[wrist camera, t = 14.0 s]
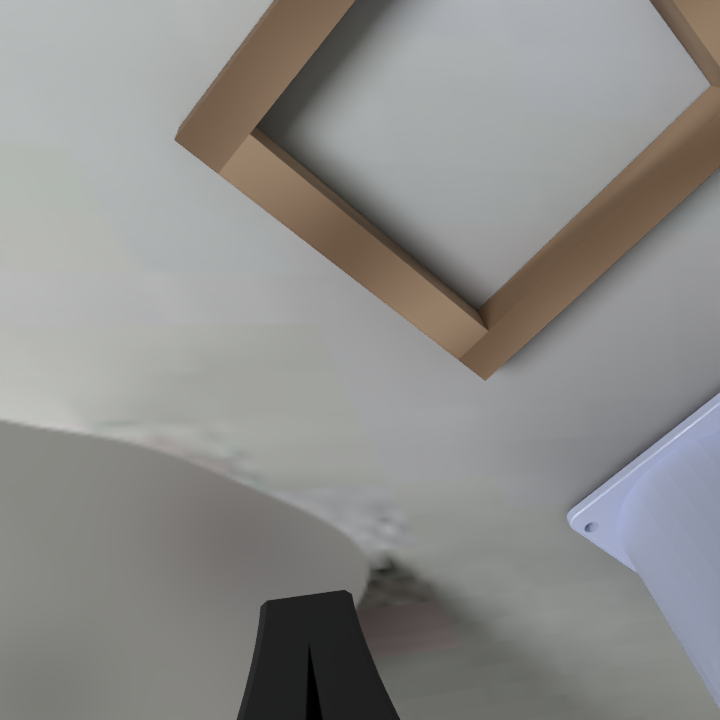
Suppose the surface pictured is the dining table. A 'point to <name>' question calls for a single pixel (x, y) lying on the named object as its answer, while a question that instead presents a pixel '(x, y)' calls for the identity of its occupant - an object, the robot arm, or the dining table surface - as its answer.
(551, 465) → the dining table surface
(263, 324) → the dining table surface
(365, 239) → the stand collar
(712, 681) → the robot arm
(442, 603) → the dining table surface
